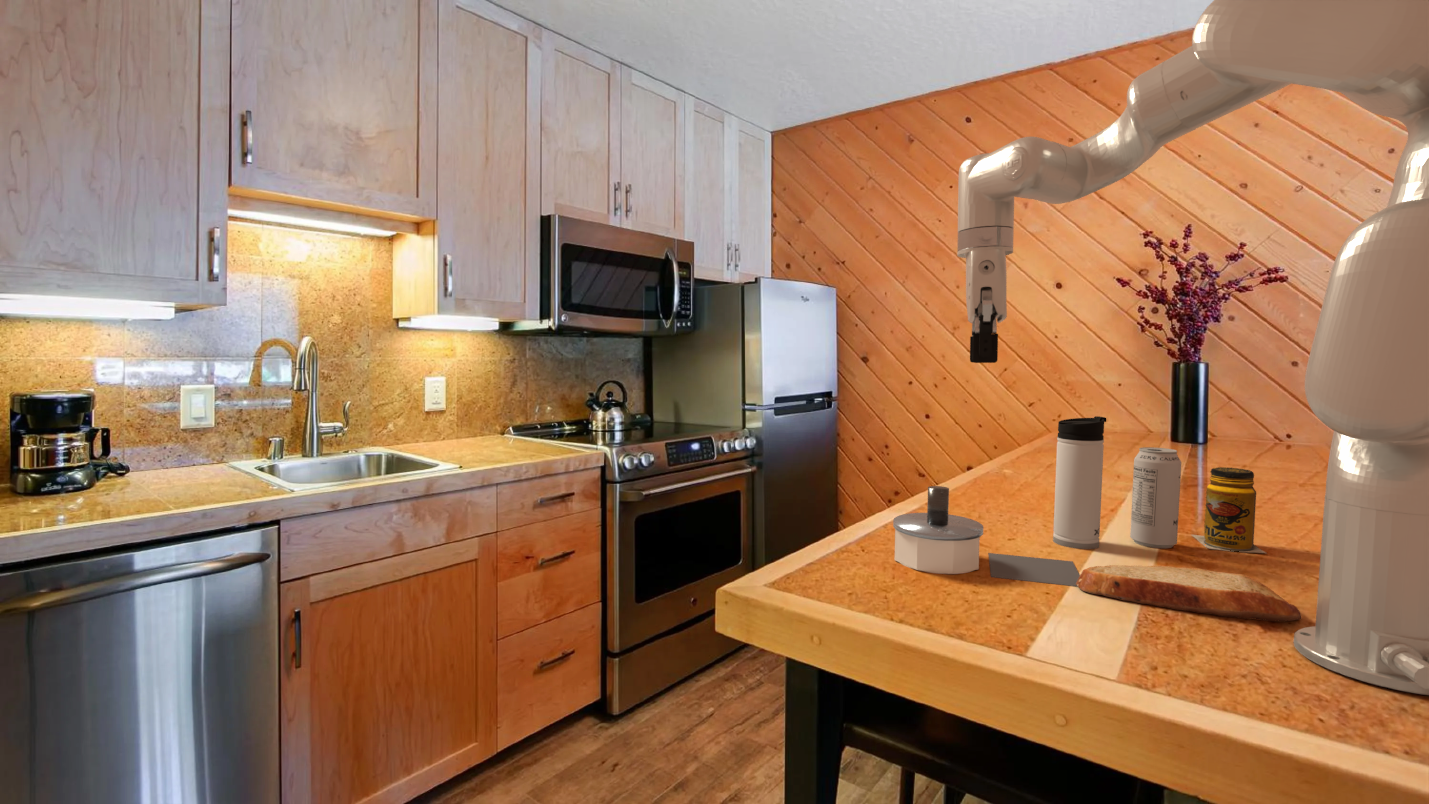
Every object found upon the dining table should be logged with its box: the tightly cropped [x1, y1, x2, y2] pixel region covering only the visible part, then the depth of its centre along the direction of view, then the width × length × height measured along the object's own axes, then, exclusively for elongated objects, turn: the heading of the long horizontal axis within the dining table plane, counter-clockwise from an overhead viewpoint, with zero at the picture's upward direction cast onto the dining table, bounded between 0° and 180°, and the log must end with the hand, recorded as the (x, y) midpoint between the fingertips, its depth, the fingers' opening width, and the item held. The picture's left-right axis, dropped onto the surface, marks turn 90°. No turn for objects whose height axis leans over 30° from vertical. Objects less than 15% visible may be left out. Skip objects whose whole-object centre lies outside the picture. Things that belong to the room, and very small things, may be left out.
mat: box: [988, 552, 1081, 588], centre depth 90 cm, size 11×11×1 cm
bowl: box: [894, 528, 981, 575], centre depth 93 cm, size 11×11×5 cm
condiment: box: [1191, 466, 1267, 554], centre depth 102 cm, size 7×8×12 cm
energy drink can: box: [1129, 446, 1182, 549], centre depth 102 cm, size 6×6×15 cm
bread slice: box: [1076, 564, 1302, 623], centre depth 79 cm, size 18×18×4 cm
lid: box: [892, 485, 984, 541], centre depth 93 cm, size 12×12×6 cm
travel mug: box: [1052, 415, 1107, 550], centre depth 102 cm, size 6×7×20 cm
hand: (982, 362), depth 97 cm, fingers open, 9 cm apart
